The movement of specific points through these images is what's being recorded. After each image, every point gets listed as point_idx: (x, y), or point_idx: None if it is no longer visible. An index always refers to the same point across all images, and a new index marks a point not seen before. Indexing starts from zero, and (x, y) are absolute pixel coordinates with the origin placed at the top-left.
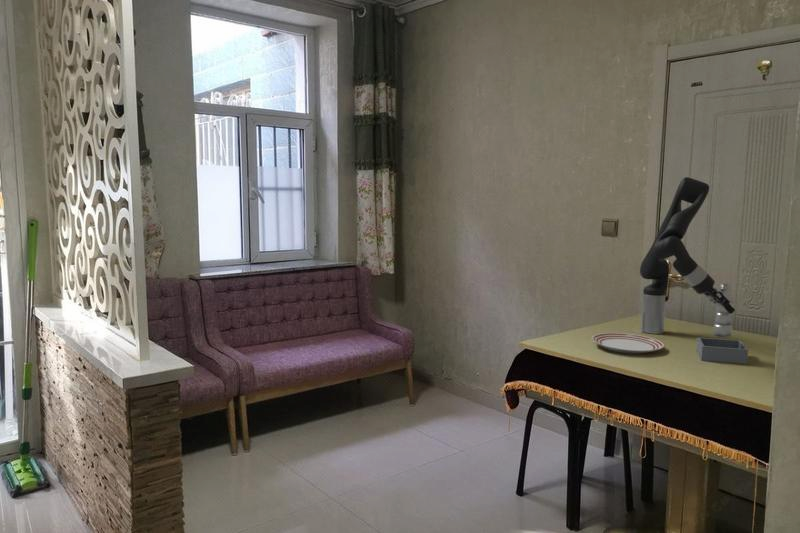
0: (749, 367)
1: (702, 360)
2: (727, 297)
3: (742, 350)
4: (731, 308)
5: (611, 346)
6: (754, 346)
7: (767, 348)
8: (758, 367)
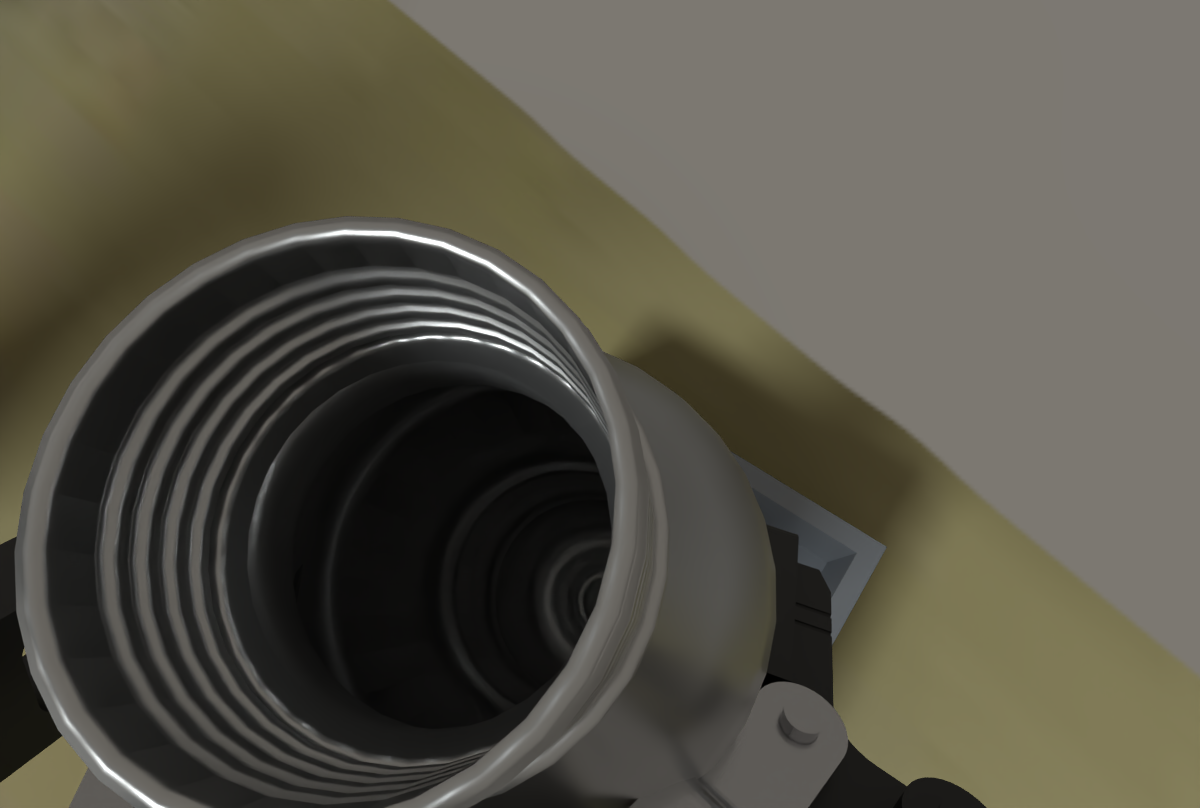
0: (925, 604)
1: None
2: (746, 685)
3: (860, 587)
4: (826, 637)
5: None
6: (428, 140)
7: (496, 102)
8: (932, 532)
